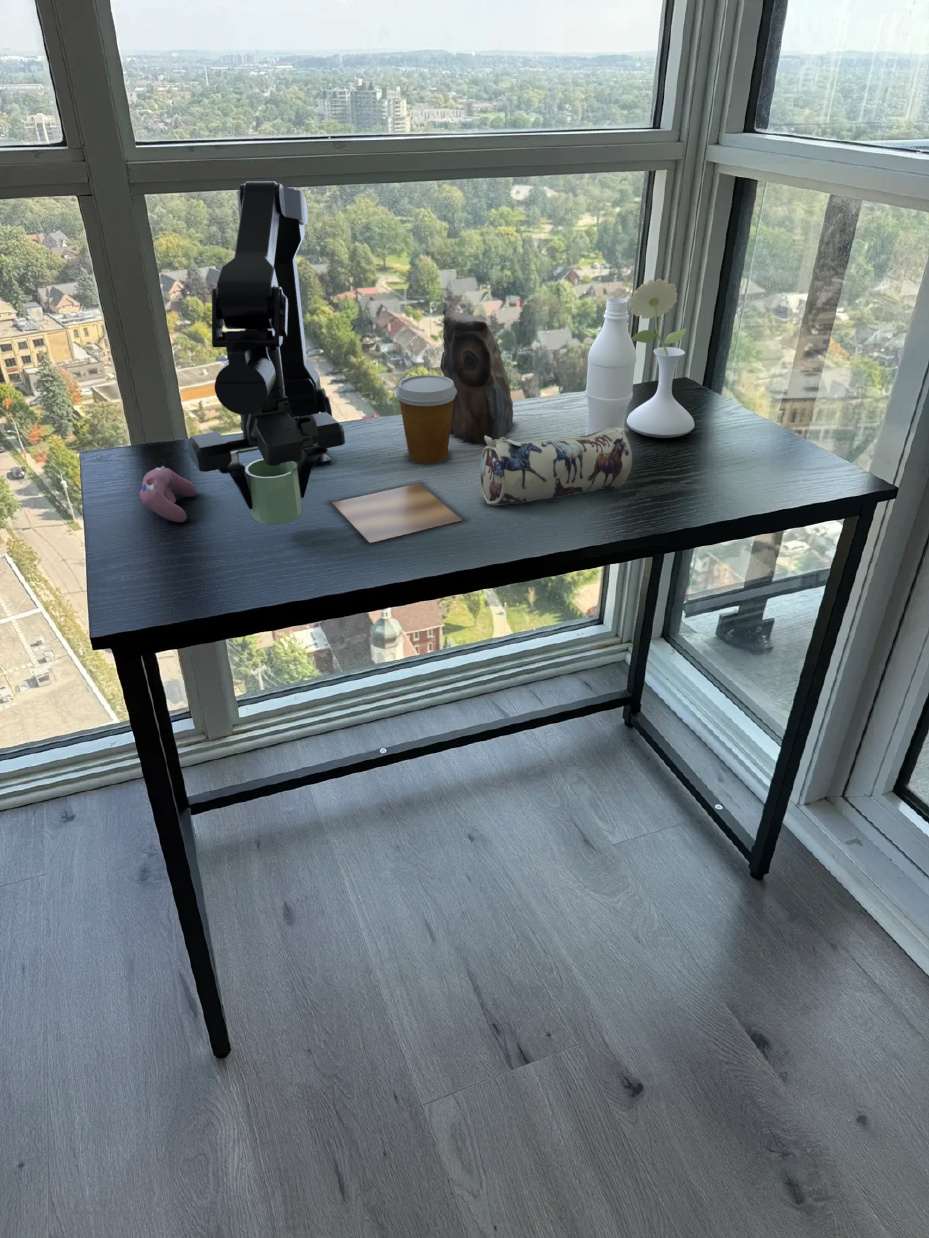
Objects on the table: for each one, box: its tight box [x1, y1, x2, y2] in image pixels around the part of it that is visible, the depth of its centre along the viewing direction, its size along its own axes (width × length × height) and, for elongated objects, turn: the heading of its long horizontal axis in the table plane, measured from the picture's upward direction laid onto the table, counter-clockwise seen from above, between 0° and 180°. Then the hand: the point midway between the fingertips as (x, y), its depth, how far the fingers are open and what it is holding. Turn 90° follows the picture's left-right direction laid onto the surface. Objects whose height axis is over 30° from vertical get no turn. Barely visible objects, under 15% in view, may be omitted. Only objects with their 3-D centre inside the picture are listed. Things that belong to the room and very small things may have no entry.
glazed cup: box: [245, 458, 304, 525], centre depth 112 cm, size 7×7×6 cm
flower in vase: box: [626, 278, 695, 439], centre depth 142 cm, size 13×11×25 cm
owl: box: [439, 306, 514, 447], centre depth 143 cm, size 13×13×20 cm
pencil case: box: [479, 427, 633, 506], centre depth 125 cm, size 22×8×10 cm, turn 108°
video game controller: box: [139, 465, 198, 523], centre depth 122 cm, size 10×5×7 cm, turn 5°
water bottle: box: [584, 297, 637, 436], centre depth 130 cm, size 7×7×25 cm
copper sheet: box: [331, 482, 463, 544], centre depth 123 cm, size 14×14×1 cm
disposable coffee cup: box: [395, 374, 457, 464], centre depth 136 cm, size 10×10×12 cm
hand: (275, 502), depth 113 cm, fingers closed on glazed cup, 6 cm apart
